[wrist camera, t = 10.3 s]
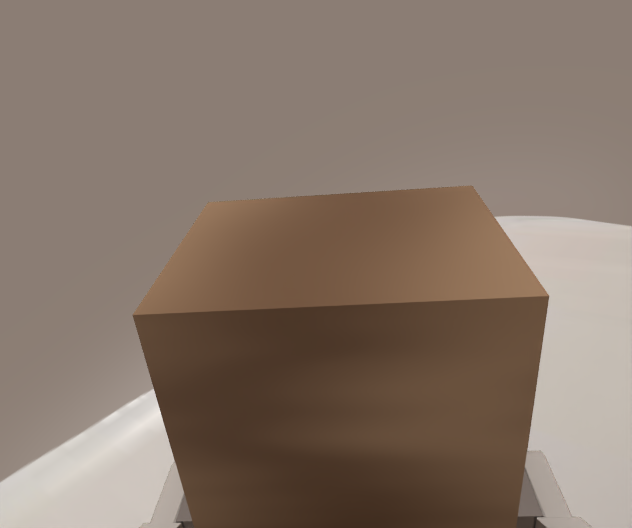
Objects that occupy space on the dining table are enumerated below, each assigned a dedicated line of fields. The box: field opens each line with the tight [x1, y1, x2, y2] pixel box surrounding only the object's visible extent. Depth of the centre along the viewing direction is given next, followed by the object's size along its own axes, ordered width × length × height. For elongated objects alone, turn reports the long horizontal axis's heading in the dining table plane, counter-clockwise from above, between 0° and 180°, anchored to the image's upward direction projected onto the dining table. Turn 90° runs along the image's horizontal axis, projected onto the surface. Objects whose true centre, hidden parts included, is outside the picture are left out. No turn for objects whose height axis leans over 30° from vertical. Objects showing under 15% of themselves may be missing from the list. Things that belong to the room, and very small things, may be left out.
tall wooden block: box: [133, 186, 549, 528], centre depth 11 cm, size 5×5×14 cm
